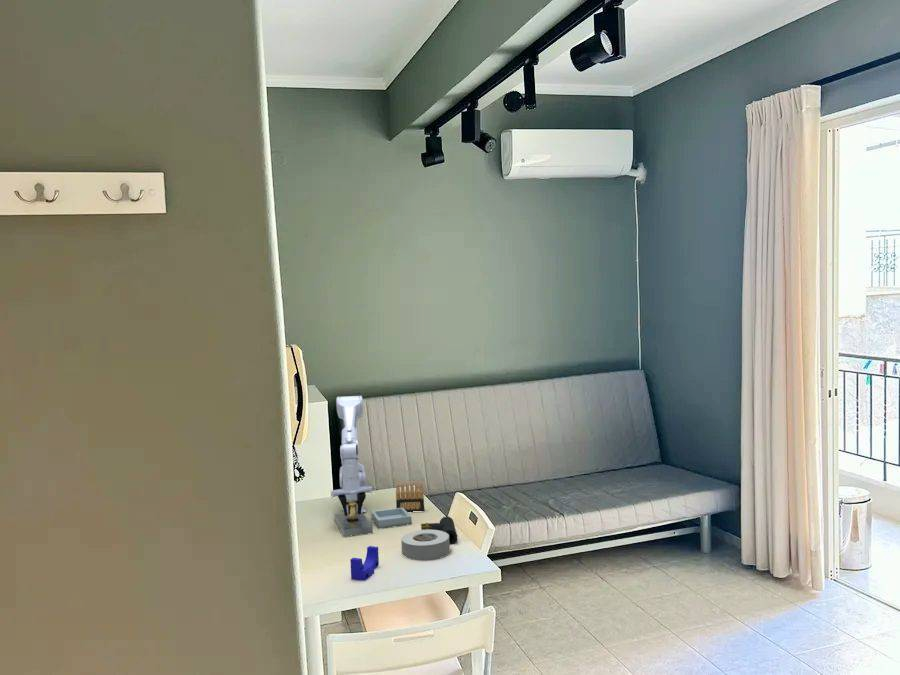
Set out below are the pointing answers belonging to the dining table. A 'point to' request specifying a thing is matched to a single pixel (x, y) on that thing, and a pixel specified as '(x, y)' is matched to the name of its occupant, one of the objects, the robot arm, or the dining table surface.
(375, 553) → the cable clip
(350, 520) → the gold flared cylinder
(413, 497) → the ammunition clip
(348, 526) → the metal plate with hole
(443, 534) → the tape roll
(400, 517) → the tray
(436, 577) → the dining table surface
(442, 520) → the black power drill
